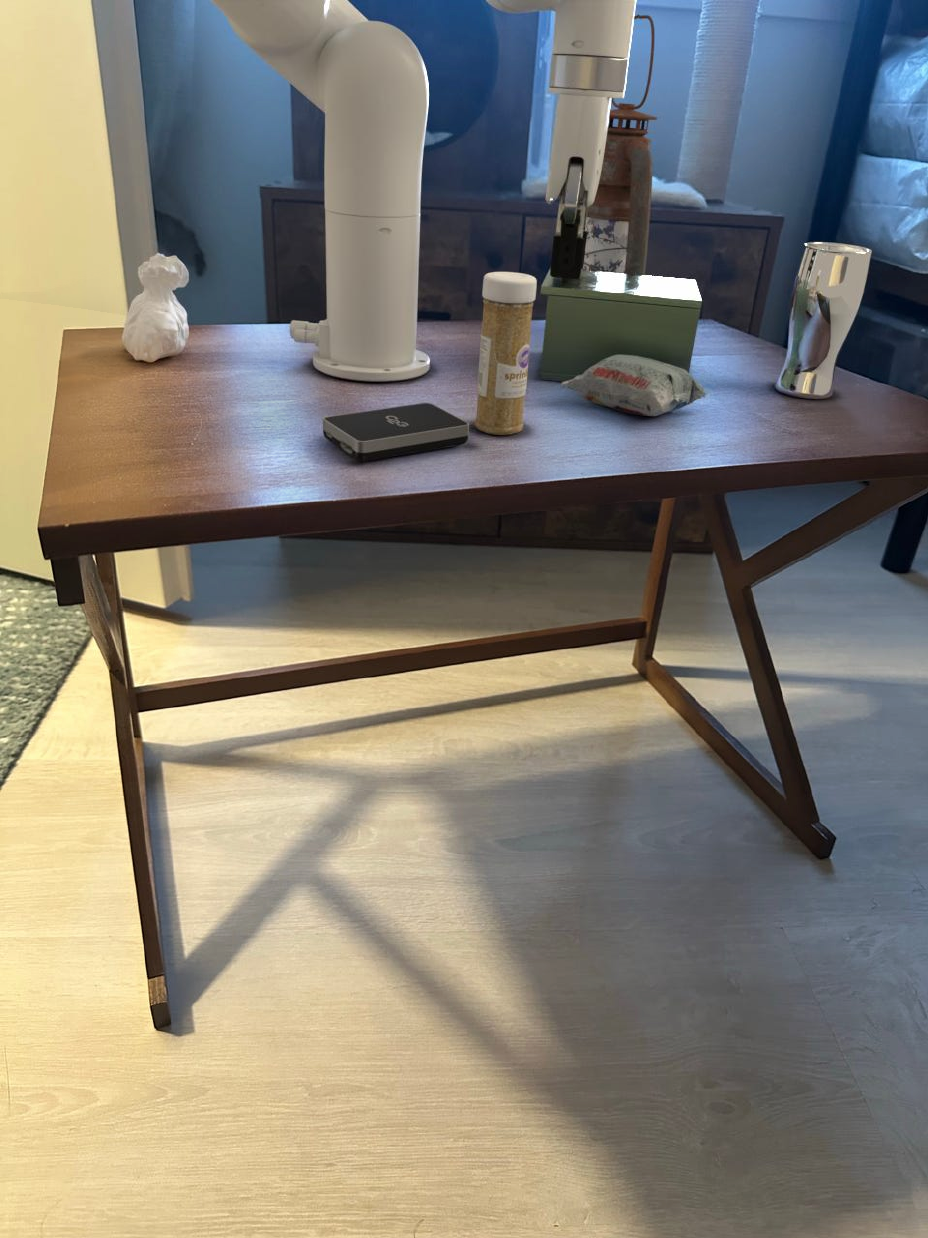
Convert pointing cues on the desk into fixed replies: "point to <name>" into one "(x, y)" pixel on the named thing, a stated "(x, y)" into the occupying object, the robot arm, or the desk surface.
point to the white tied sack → (157, 311)
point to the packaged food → (637, 385)
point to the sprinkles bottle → (504, 351)
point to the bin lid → (626, 288)
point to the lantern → (623, 190)
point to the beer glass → (822, 316)
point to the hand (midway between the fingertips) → (566, 271)
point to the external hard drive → (395, 431)
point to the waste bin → (613, 334)
